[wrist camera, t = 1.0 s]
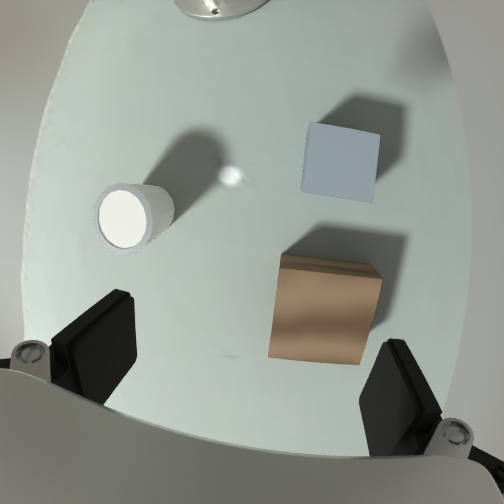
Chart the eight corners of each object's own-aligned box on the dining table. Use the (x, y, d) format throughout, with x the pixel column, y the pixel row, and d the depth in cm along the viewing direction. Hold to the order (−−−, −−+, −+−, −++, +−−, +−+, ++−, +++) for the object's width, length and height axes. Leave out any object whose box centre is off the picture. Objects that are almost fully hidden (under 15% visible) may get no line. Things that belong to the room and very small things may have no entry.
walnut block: (281, 253, 32) (279, 267, 27) (370, 263, 31) (382, 279, 26) (271, 333, 35) (267, 357, 30) (352, 341, 34) (359, 365, 29)
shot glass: (178, 177, 31) (150, 180, 24) (181, 239, 33) (155, 256, 26) (125, 181, 32) (90, 186, 25) (129, 239, 34) (96, 254, 27)
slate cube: (307, 131, 28) (311, 122, 23) (363, 141, 28) (380, 134, 22) (300, 188, 30) (302, 192, 24) (356, 197, 29) (371, 203, 24)
